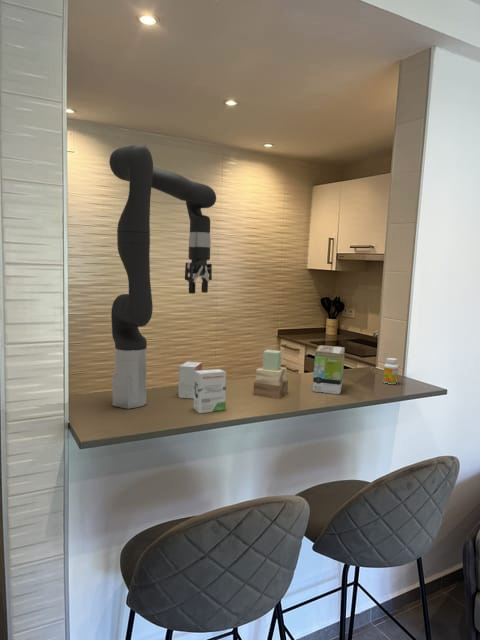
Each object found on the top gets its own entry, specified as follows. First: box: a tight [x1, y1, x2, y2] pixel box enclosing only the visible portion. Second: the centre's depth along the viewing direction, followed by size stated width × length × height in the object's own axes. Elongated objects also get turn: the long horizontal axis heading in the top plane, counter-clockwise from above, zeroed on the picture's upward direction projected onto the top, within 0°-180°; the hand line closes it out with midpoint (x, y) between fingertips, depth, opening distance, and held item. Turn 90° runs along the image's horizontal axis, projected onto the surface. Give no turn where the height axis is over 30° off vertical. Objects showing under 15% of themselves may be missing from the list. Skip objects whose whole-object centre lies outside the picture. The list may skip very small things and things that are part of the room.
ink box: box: [193, 368, 227, 414], centre depth 134 cm, size 9×5×12 cm, turn 116°
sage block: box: [262, 349, 282, 371], centre depth 153 cm, size 5×5×6 cm
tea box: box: [311, 344, 346, 395], centre depth 164 cm, size 15×10×15 cm
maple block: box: [255, 365, 287, 386], centre depth 154 cm, size 8×8×4 cm
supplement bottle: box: [382, 357, 399, 385], centre depth 175 cm, size 5×5×10 cm
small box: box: [178, 361, 203, 400], centre depth 149 cm, size 8×6×10 cm
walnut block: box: [252, 379, 289, 400], centre depth 154 cm, size 9×9×4 cm
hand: (198, 293), depth 159 cm, fingers open, 8 cm apart
